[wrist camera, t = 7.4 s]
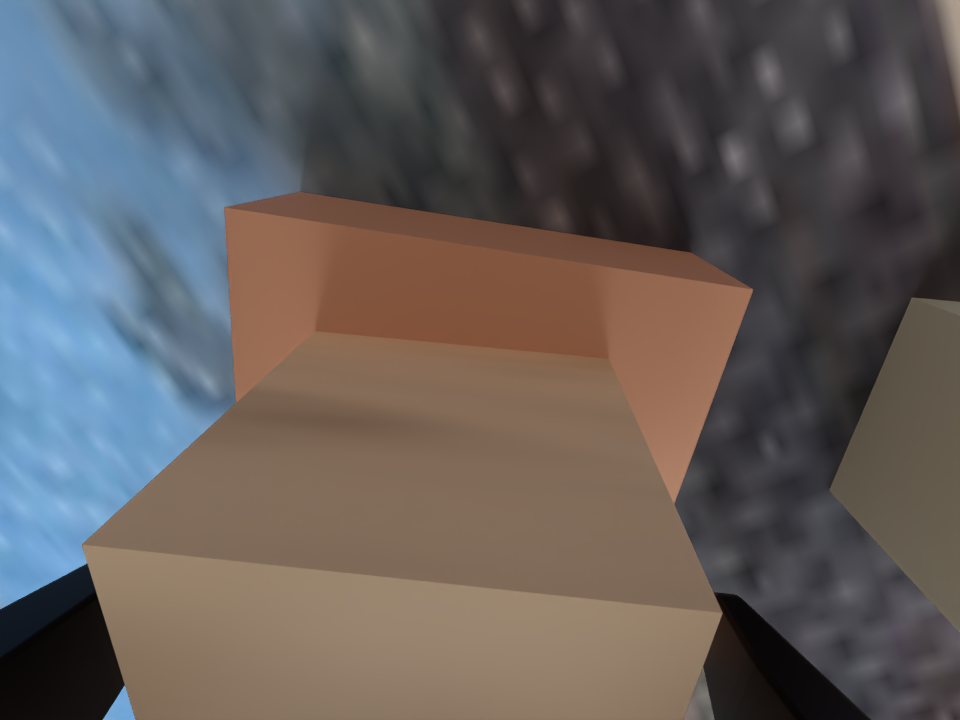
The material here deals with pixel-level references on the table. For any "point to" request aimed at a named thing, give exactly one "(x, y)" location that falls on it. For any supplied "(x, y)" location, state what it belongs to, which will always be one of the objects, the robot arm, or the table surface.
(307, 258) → the terracotta base block
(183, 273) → the table surface
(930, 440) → the sage green cube
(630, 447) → the maple cube
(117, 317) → the table surface
